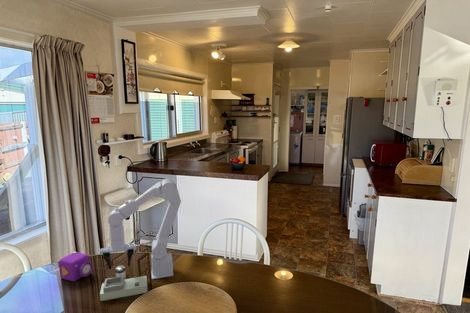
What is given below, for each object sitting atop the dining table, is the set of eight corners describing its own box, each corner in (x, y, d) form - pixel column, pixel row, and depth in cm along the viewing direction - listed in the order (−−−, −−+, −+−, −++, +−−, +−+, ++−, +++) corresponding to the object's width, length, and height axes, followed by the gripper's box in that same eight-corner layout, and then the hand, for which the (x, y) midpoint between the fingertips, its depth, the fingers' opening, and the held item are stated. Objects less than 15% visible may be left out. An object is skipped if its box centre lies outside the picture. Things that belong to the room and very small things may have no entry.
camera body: (147, 281, 134) (146, 271, 133) (147, 292, 126) (146, 281, 125) (102, 289, 129) (101, 278, 128) (100, 301, 121) (99, 289, 120)
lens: (126, 277, 138) (125, 264, 137) (126, 282, 134) (124, 269, 133) (116, 278, 137) (115, 266, 136) (115, 283, 133) (114, 271, 132)
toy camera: (83, 284, 133) (81, 263, 131) (56, 281, 136) (54, 260, 134) (99, 271, 143) (97, 251, 142) (73, 268, 146) (71, 249, 144)
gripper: (135, 232, 138) (137, 259, 140) (100, 236, 134) (103, 265, 136) (134, 238, 131) (137, 267, 133) (98, 243, 127) (101, 273, 129)
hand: (119, 266), depth 134 cm, fingers open, 7 cm apart
